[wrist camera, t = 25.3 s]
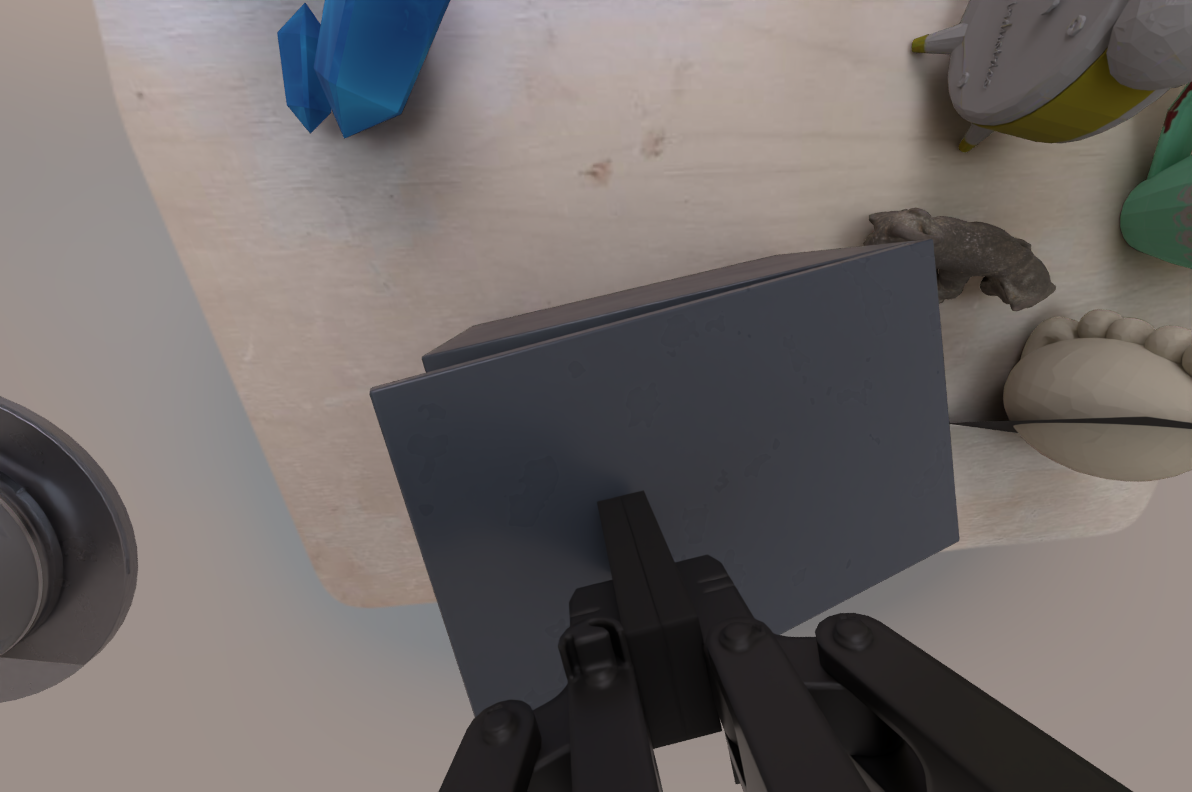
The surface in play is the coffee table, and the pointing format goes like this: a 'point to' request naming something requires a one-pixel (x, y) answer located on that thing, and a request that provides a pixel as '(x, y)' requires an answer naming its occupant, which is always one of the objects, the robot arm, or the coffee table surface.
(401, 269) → the coffee table surface
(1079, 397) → the decorative object
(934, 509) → the dark grey box lid
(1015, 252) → the dog figurine
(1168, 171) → the mug
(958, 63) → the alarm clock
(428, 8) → the crystal
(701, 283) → the dark grey storage box
